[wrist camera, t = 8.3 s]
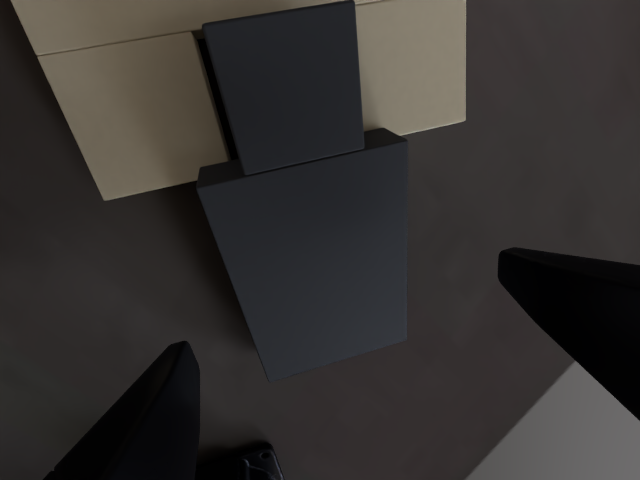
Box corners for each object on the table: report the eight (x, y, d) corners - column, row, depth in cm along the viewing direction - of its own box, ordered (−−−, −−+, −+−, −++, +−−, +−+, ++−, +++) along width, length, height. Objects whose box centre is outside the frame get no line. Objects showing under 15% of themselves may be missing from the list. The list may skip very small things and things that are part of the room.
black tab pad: (390, 312, 18) (407, 340, 16) (264, 349, 17) (268, 383, 15) (379, -2, 10) (409, -10, 9) (152, 34, 9) (136, 33, 8)
